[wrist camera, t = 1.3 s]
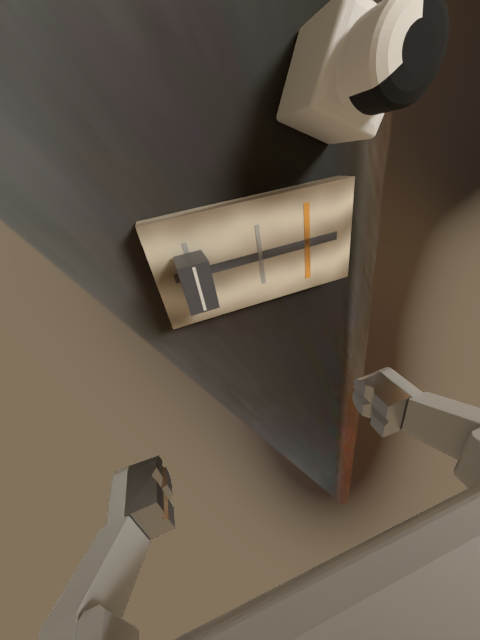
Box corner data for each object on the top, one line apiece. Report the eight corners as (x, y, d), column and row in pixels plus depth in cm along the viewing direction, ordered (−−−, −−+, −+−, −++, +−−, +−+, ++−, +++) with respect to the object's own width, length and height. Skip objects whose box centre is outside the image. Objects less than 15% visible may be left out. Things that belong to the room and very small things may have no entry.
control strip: (136, 221, 27) (135, 227, 24) (338, 175, 31) (355, 176, 28) (171, 317, 33) (173, 329, 31) (334, 269, 37) (347, 276, 35)
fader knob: (172, 256, 26) (176, 269, 23) (201, 249, 27) (209, 261, 24) (186, 299, 29) (191, 316, 26) (211, 292, 30) (220, 307, 26)
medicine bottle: (357, 64, 26) (486, 0, 16) (328, 145, 29) (423, 133, 19) (298, 26, 23) (411, -79, 13) (273, 120, 26) (351, 91, 16)
